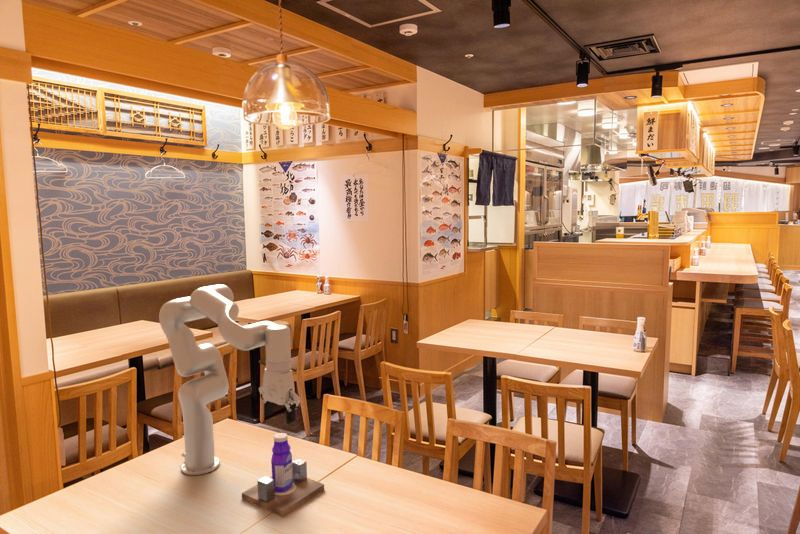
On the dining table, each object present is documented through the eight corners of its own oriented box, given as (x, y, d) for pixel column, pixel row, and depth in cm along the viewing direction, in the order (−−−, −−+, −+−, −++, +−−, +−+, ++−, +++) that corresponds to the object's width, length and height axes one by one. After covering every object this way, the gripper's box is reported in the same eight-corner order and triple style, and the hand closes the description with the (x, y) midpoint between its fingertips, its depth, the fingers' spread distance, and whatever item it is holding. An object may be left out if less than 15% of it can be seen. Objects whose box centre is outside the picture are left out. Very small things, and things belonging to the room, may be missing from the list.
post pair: (258, 499, 164) (257, 480, 163) (298, 475, 178) (297, 458, 177) (267, 503, 162) (266, 484, 161) (307, 478, 176) (306, 461, 175)
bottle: (286, 495, 166) (284, 441, 164) (269, 493, 167) (267, 439, 165) (295, 483, 173) (294, 431, 171) (279, 481, 174) (277, 429, 172)
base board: (241, 499, 168) (241, 492, 167) (284, 474, 182) (284, 468, 182) (282, 517, 158) (282, 510, 157) (324, 490, 172) (324, 483, 172)
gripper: (249, 363, 167) (251, 416, 169) (289, 373, 157) (290, 429, 159) (268, 357, 173) (269, 408, 175) (307, 367, 163) (308, 421, 166)
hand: (279, 418), depth 167 cm, fingers open, 9 cm apart
